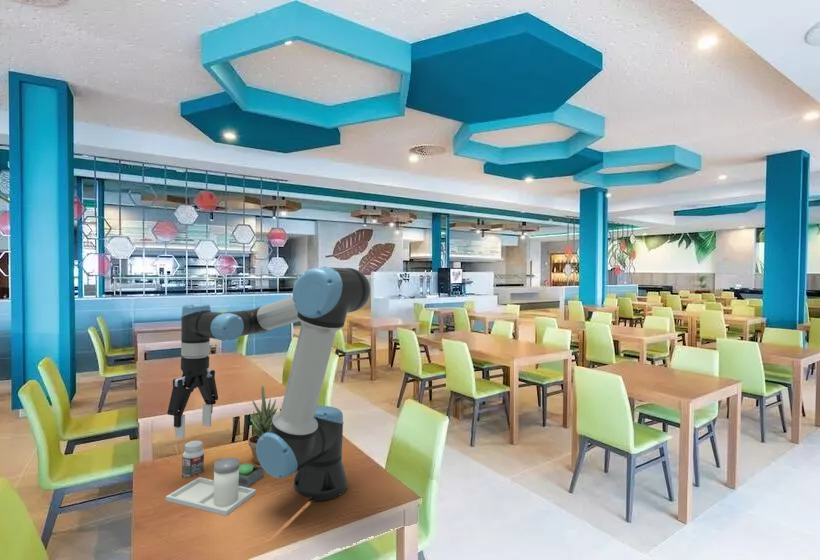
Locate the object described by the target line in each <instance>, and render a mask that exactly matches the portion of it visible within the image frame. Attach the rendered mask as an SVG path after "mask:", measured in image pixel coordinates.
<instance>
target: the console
mask: <svg viewBox="0 0 820 560" xmlns="http://www.w3.org/2000/svg"><path fill="white" fill-rule="evenodd" d="M252 465H253V472H252V473H251V474H249V475H248V476H246V475H241V474H239V486H242V487H247V488H251V486H253V485H254V484H255V483H256V482H258V481H260V480H261V479H262V478H263V477H264V472H265V471H264V469H263V468H262V467H261V466H258V465H254V464H252Z"/></svg>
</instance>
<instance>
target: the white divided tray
mask: <svg viewBox="0 0 820 560" xmlns="http://www.w3.org/2000/svg"><path fill="white" fill-rule="evenodd" d="M254 495H257V489H255V488H251V487H248V488H247V487H242V486H238V500H237V502H235V503H234V504H232V505H229V506H223V507H220V506H216V505H214V503H213V499H214V479H210V478H205V477H200V476H197V478H195V479H194V480H192V481H190V482H188V483H186V484H184V485H182V486H181V487H179V488H178V489H176V490H175V491H173V492H171V493H169V494H168V495H166V496H165V502H169V503H173V504H176V505H180V506H184V507H189V508H193V509H197V510H202V511H204V512H205V511H206V512H210V513H212V514H213V513H214V514H217V515H220V516H221V515H222V516H225V517H226V516H228V515H229V514H230V513H232V512H233V511H235V510H236V509H237V508H238V507H240V506H242V505H243V504H244V503H246V502H247V501H248V500H249V499H251V498H252V497H253V496H254Z"/></svg>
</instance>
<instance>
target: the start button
mask: <svg viewBox="0 0 820 560" xmlns="http://www.w3.org/2000/svg"><path fill="white" fill-rule="evenodd" d="M253 465H254V464H252V463H242V464H239V474H241V475H246V476H248V475H249V474H251V473H252V472H253Z"/></svg>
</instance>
